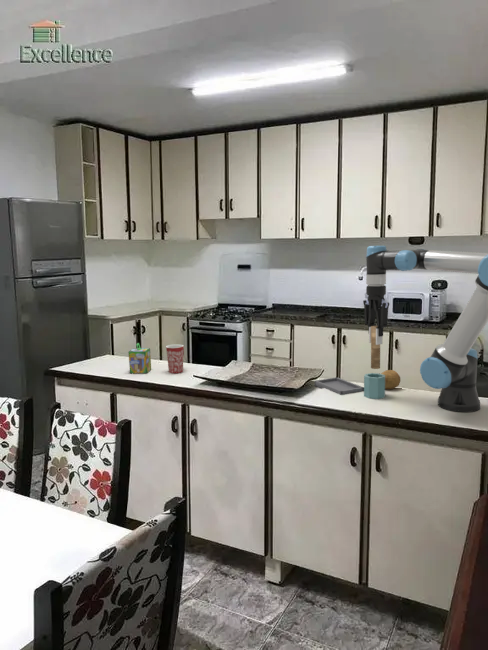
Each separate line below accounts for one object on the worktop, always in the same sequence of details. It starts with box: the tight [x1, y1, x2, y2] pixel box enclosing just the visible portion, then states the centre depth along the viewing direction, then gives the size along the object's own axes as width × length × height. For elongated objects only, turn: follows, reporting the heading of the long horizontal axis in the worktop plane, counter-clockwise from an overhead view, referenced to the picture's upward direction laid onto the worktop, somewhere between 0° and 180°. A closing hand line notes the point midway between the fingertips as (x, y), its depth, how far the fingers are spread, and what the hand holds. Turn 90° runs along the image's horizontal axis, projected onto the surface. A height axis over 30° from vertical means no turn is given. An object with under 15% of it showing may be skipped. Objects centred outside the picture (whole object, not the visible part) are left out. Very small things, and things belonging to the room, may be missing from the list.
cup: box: [363, 372, 386, 400], centre depth 214 cm, size 8×8×10 cm
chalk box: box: [127, 342, 152, 375], centre depth 270 cm, size 9×9×15 cm
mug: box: [165, 343, 185, 374], centre depth 269 cm, size 13×9×14 cm
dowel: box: [370, 325, 381, 370], centre depth 211 cm, size 4×4×17 cm
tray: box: [314, 377, 364, 396], centre depth 228 cm, size 20×12×2 cm, turn 25°
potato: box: [380, 369, 401, 390], centre depth 227 cm, size 10×14×8 cm
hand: (375, 343), depth 211 cm, fingers closed on dowel, 3 cm apart
